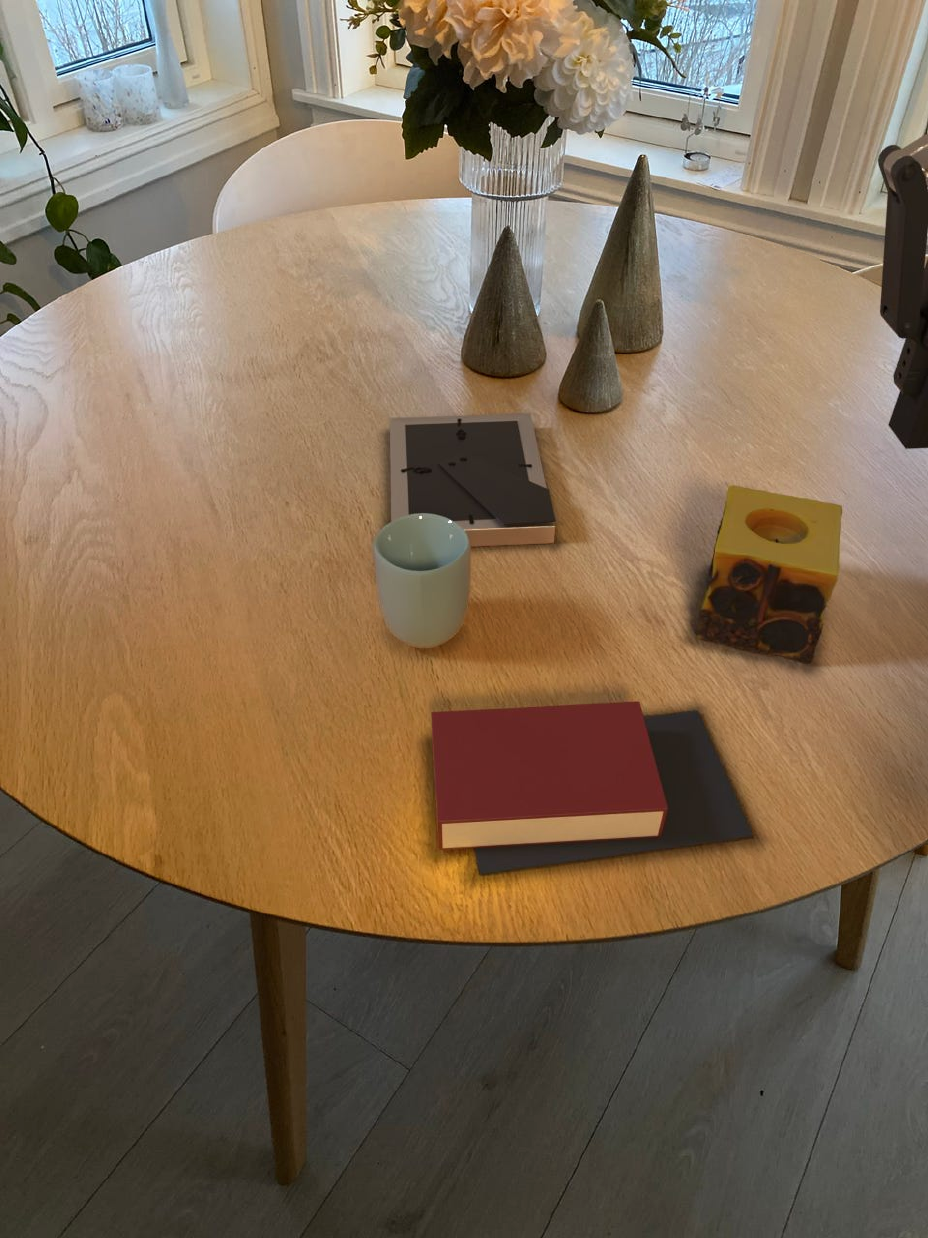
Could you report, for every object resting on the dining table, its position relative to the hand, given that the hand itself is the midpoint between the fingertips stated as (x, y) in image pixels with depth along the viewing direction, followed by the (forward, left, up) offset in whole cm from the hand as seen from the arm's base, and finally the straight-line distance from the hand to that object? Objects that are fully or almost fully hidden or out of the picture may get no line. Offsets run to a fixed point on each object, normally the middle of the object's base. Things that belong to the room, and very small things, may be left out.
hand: (908, 435), depth 59 cm
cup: (+31, +10, -27) cm, 42 cm away
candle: (+8, -9, -27) cm, 29 cm away
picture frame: (+41, -10, -27) cm, 50 cm away
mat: (+10, +16, -26) cm, 32 cm away
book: (+7, +13, -24) cm, 29 cm away
